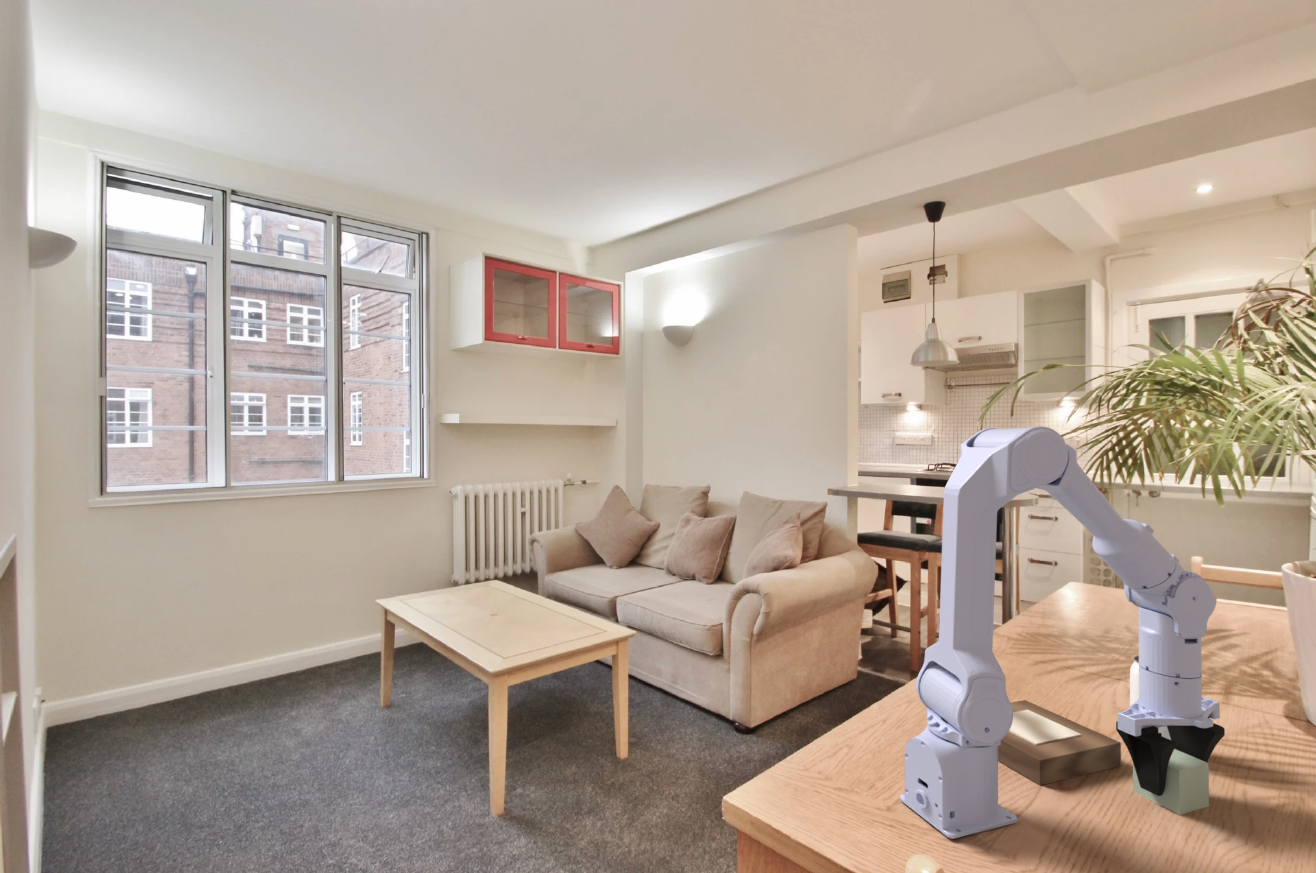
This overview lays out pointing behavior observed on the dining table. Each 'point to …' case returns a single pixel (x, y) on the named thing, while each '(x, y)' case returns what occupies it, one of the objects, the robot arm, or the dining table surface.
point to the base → (1054, 746)
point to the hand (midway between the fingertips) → (1170, 786)
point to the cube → (1181, 784)
